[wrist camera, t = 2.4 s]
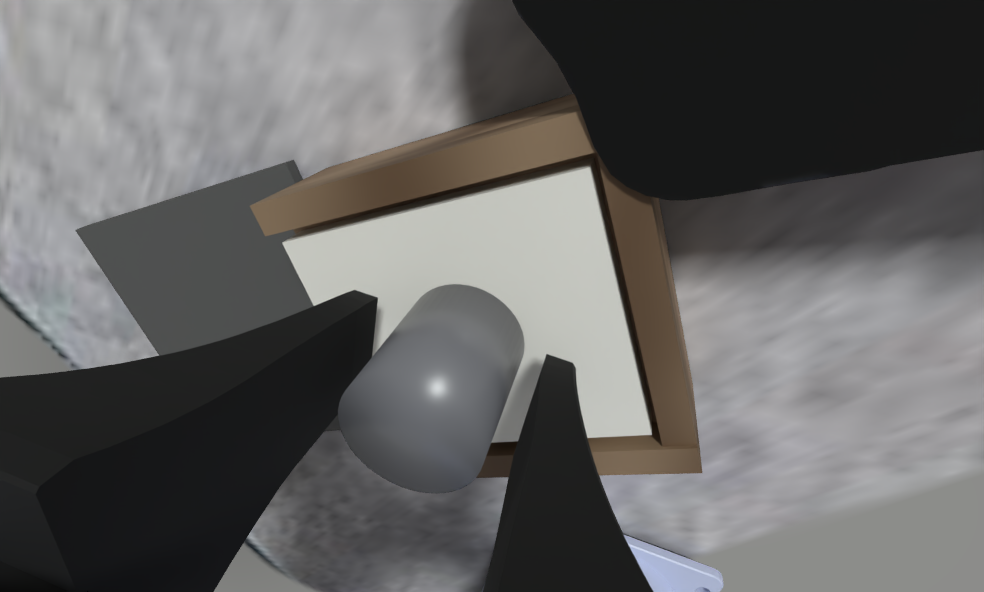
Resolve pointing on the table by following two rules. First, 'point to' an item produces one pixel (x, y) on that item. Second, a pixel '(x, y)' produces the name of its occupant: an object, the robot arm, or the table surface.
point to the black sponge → (766, 86)
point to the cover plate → (516, 261)
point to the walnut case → (507, 154)
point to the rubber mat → (202, 263)
